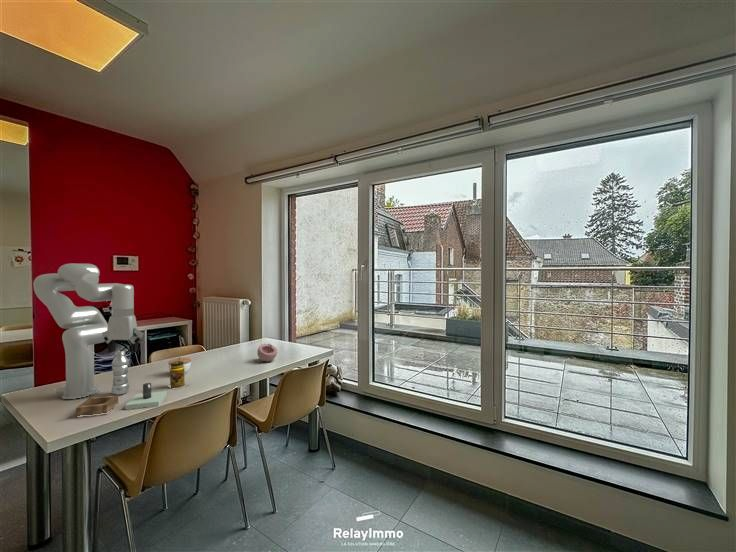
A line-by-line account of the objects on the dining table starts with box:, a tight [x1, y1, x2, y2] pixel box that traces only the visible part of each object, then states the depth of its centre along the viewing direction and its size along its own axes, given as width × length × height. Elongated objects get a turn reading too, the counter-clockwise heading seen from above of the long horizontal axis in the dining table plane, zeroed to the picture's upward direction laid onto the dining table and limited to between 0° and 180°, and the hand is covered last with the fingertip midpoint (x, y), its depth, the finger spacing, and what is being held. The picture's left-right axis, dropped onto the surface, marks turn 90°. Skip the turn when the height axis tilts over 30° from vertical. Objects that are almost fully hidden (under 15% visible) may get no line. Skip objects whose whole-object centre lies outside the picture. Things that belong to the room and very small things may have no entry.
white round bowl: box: [168, 356, 192, 376], centre depth 174 cm, size 11×11×9 cm
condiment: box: [166, 361, 189, 391], centre depth 157 cm, size 7×8×12 cm
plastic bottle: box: [111, 349, 130, 396], centre depth 146 cm, size 6×7×20 cm
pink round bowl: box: [257, 343, 278, 363], centre depth 199 cm, size 12×12×12 cm
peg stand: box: [124, 382, 168, 410], centre depth 137 cm, size 12×12×8 cm
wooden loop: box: [75, 394, 119, 417], centre depth 129 cm, size 10×10×4 cm
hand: (123, 352), depth 137 cm, fingers open, 9 cm apart
